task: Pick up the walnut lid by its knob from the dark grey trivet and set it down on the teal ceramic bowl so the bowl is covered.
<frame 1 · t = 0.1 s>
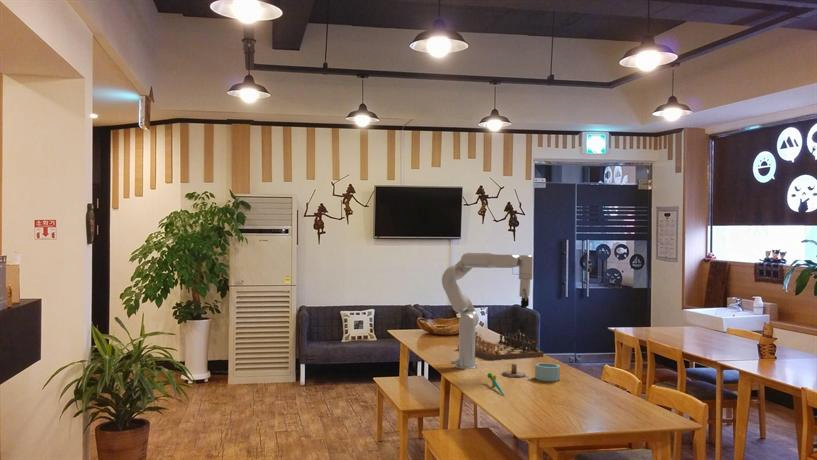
hand: (524, 306, 385), 37 cm above the table, tool pointing down, fingers open, 9 cm apart
trivet: (513, 376, 374), on the table
lid: (513, 375, 374), point 1 cm above the table, touching trivet
chess set: (499, 354, 445), on the table
toy sword: (496, 390, 342), on the table
bowl: (547, 380, 367), on the table
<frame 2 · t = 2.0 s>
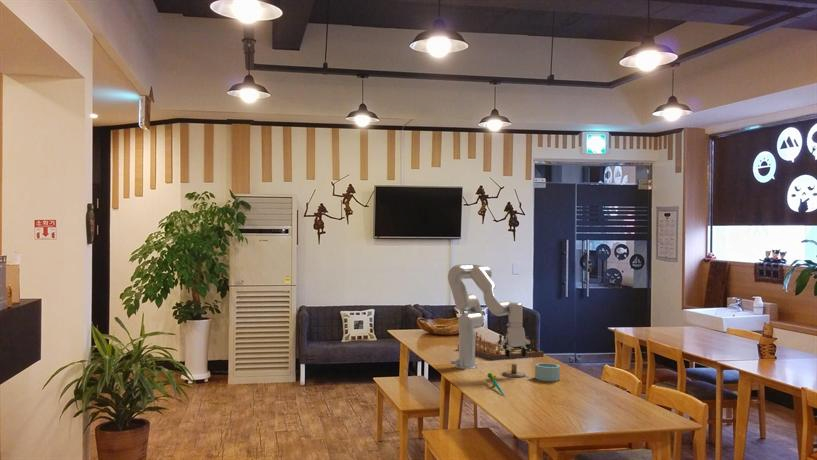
hand: (515, 356, 374), 11 cm above the table, tool pointing down, fingers open, 9 cm apart
nothing on the table moved.
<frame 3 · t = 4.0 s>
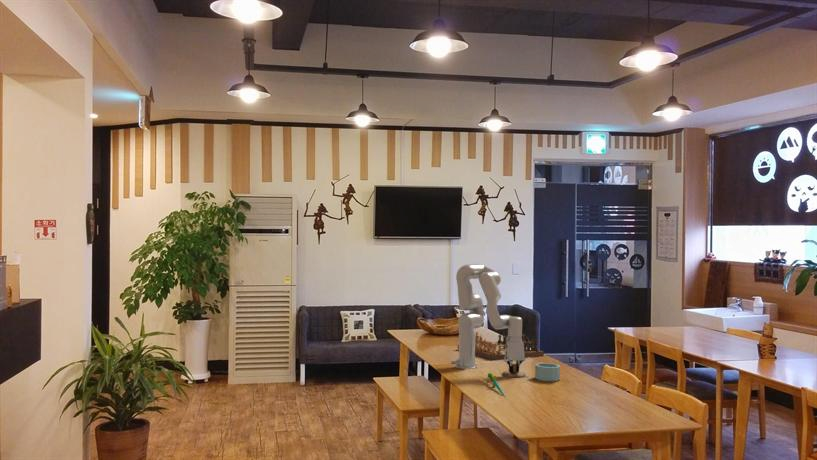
hand: (513, 372, 374), 2 cm above the table, tool pointing down, fingers closed on lid, 2 cm apart
lid: (513, 375, 374), point 1 cm above the table, touching gripper, trivet
everything else where it was.
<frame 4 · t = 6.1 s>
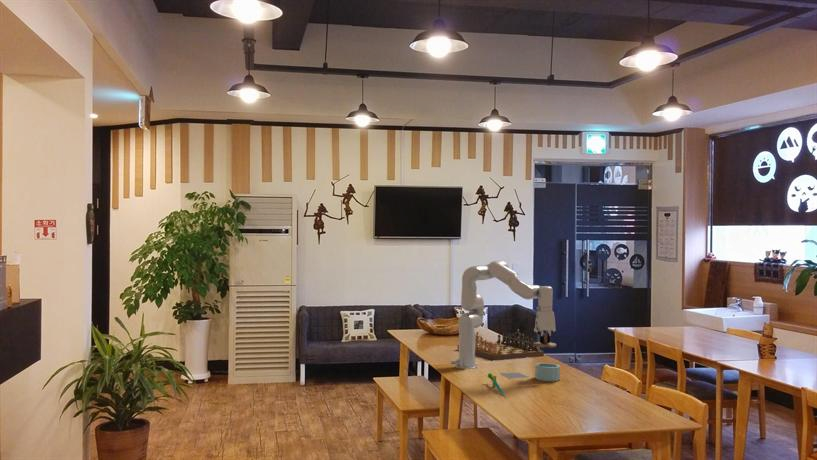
hand: (544, 342, 368), 20 cm above the table, tool pointing down, fingers closed on lid, 2 cm apart
lid: (544, 345, 368), point 18 cm above the table, touching gripper
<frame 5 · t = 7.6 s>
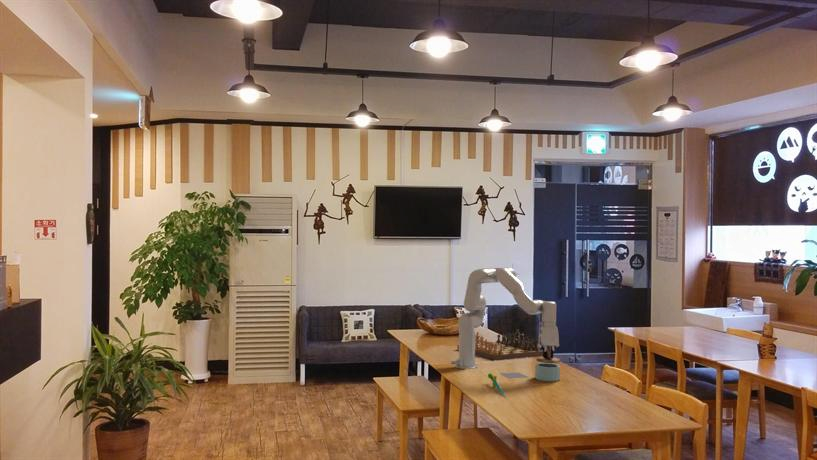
hand: (548, 358, 367), 12 cm above the table, tool pointing down, fingers closed on lid, 2 cm apart
lid: (548, 360, 367), point 10 cm above the table, touching gripper
when the fingers open (10 cm above the table, at t = 8.5 s): lid stays where it is, resting on bowl.
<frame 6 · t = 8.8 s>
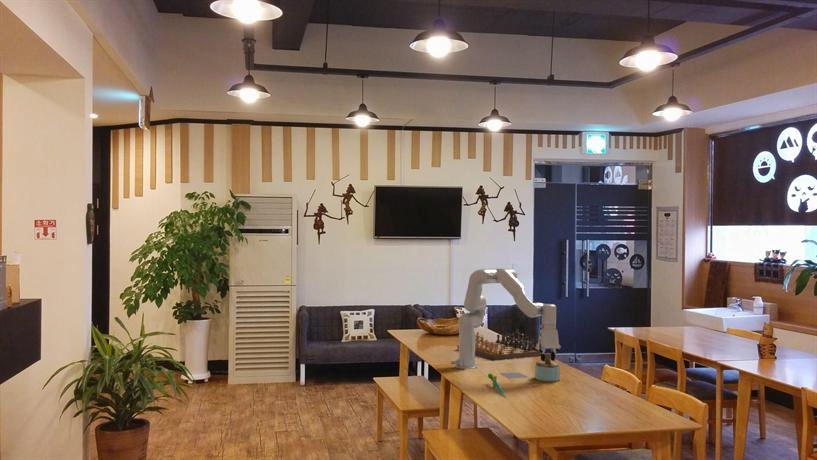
hand: (547, 360, 367), 11 cm above the table, tool pointing down, fingers open, 5 cm apart
lid: (547, 365, 367), point 8 cm above the table, touching bowl
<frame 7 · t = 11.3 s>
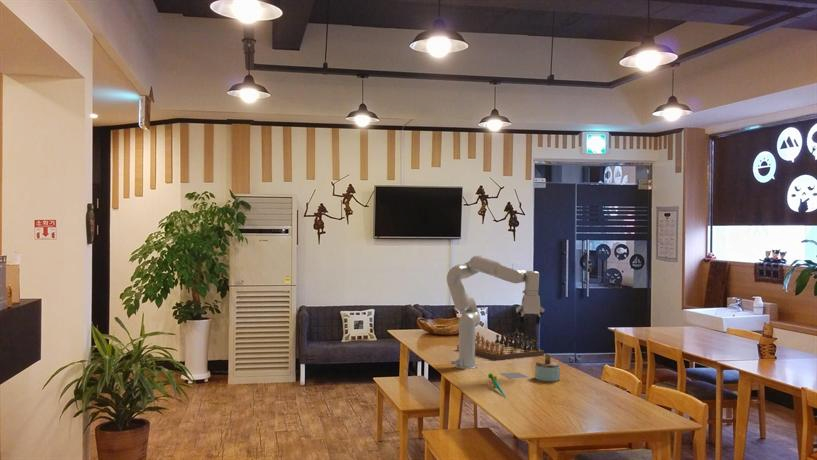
hand: (529, 323, 381), 29 cm above the table, tool pointing down, fingers open, 9 cm apart
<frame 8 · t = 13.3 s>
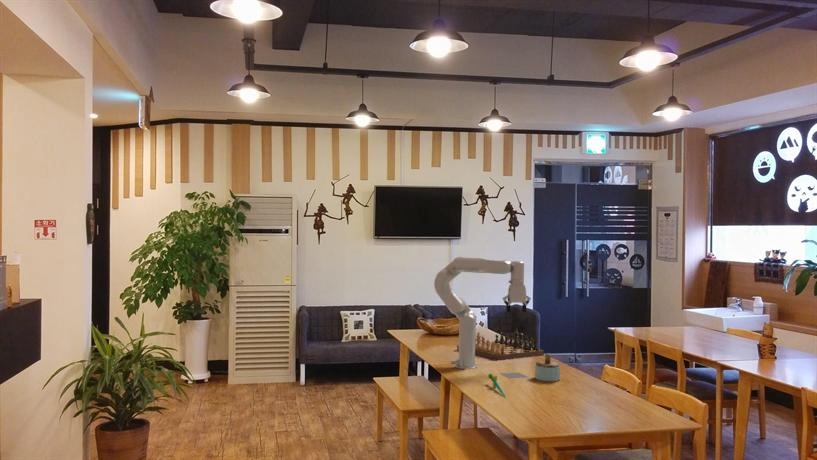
hand: (516, 312, 391), 33 cm above the table, tool pointing down, fingers open, 9 cm apart
at the end: lid 0.1 cm off-centre on the bowl, point 8.0 cm above the bowl's base; lid tilted 0°; the gripper is holding nothing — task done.
